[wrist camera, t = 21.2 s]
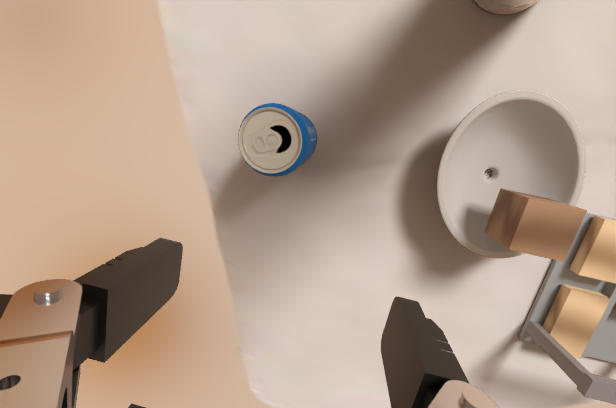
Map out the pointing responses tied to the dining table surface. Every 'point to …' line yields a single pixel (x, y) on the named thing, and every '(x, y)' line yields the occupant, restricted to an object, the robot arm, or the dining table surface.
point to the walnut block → (534, 224)
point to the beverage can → (276, 139)
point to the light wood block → (597, 251)
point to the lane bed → (604, 341)
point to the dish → (508, 163)
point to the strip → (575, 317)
